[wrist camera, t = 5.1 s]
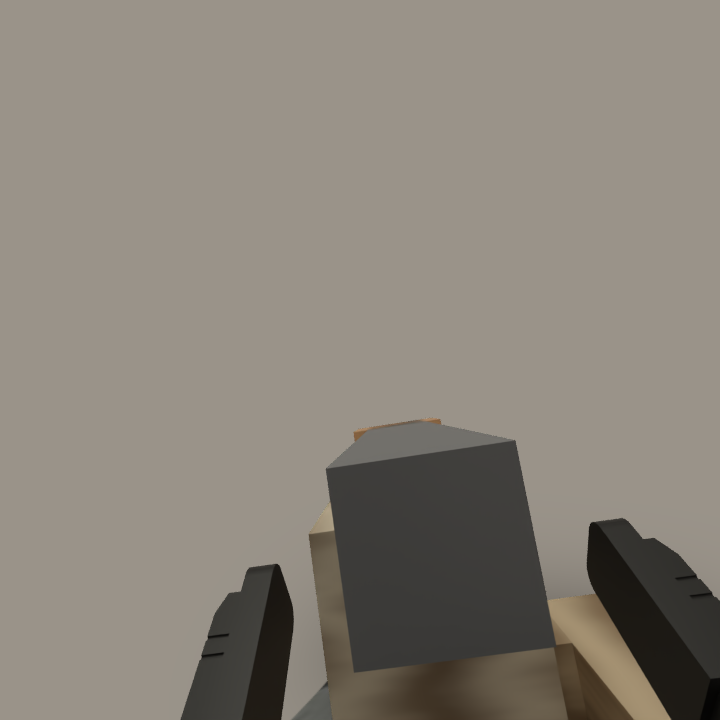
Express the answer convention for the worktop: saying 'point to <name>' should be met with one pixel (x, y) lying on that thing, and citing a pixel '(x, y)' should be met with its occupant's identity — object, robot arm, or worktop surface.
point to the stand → (485, 667)
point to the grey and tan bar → (435, 547)
